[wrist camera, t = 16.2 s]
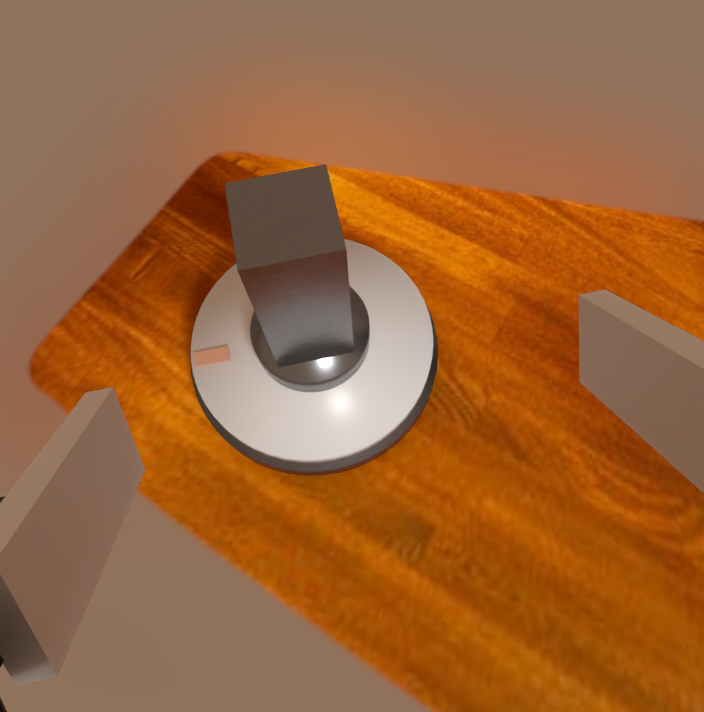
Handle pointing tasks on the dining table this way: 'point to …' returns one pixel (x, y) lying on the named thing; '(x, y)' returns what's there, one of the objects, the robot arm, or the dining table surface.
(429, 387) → the base
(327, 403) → the turntable platter
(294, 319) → the square post on disc
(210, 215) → the dining table surface
